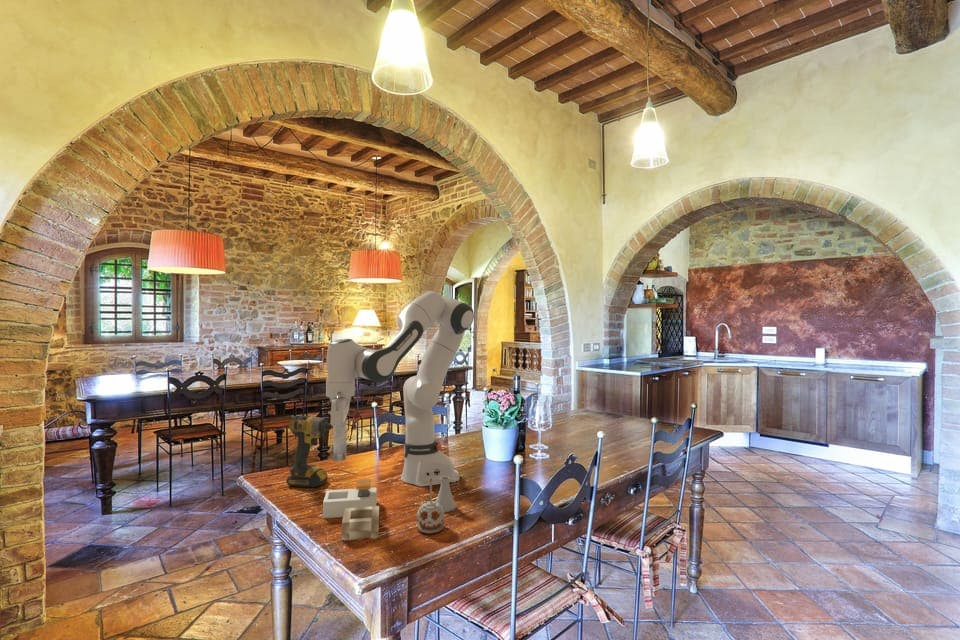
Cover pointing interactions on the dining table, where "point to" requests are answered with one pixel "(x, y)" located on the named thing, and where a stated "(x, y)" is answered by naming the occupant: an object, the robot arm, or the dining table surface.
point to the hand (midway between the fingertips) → (340, 433)
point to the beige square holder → (360, 523)
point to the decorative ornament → (430, 515)
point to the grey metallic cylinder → (339, 444)
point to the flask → (445, 496)
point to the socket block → (346, 501)
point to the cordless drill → (307, 451)
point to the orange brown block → (363, 487)
